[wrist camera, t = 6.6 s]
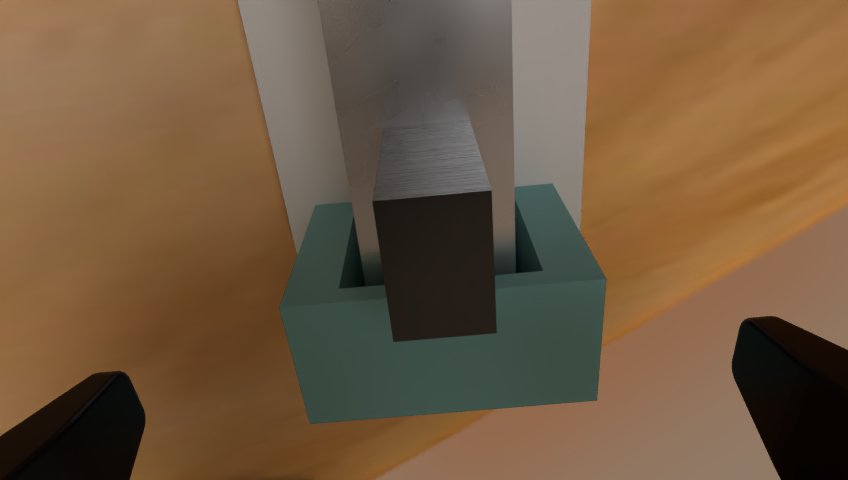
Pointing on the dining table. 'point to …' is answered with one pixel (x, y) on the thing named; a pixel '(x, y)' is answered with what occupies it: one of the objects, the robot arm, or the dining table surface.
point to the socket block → (454, 356)
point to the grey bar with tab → (428, 154)
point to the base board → (317, 120)
